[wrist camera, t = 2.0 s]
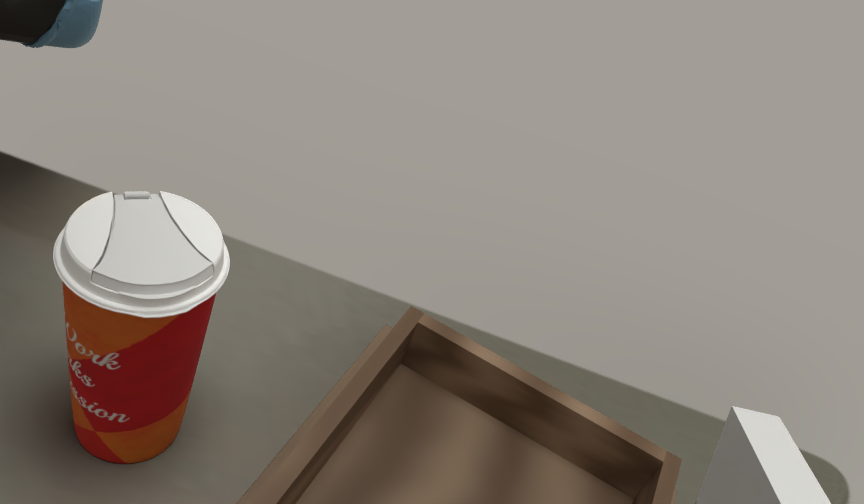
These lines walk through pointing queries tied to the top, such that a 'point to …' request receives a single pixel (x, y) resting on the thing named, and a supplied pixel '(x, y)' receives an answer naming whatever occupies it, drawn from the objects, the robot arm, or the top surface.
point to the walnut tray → (458, 435)
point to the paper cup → (136, 316)
